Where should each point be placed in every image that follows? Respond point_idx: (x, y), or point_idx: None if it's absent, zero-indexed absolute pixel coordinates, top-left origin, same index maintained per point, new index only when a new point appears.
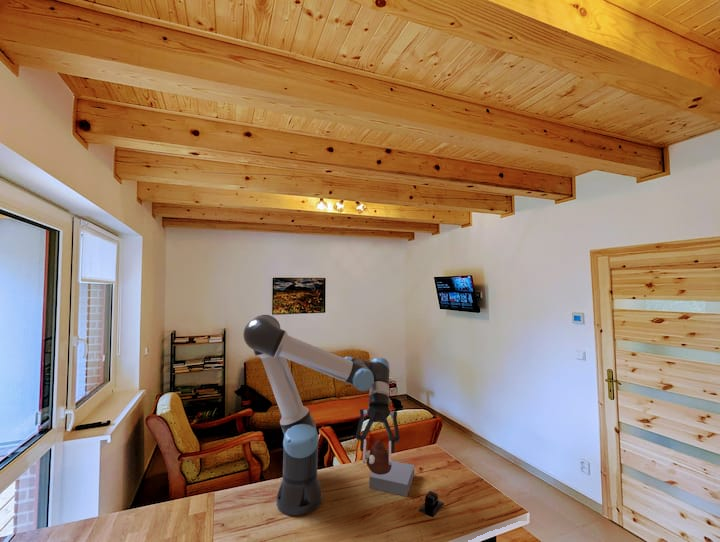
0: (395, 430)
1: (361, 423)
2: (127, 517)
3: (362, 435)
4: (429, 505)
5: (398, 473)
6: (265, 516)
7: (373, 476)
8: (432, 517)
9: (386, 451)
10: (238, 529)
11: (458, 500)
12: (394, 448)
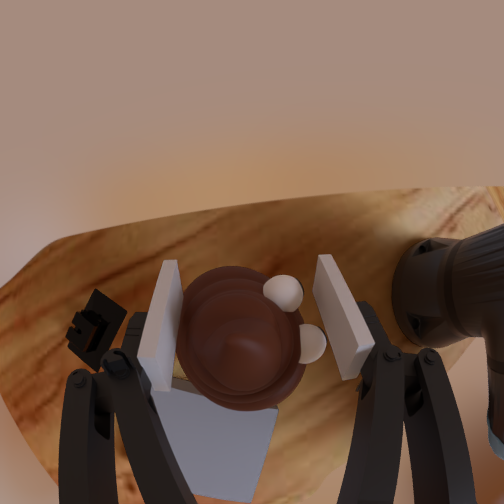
0: (84, 436)
1: (446, 447)
2: None
3: (397, 367)
4: (94, 315)
5: (178, 438)
6: (461, 233)
7: (264, 412)
8: (96, 289)
9: (189, 340)
10: (472, 198)
11: (42, 357)
12: (127, 328)
